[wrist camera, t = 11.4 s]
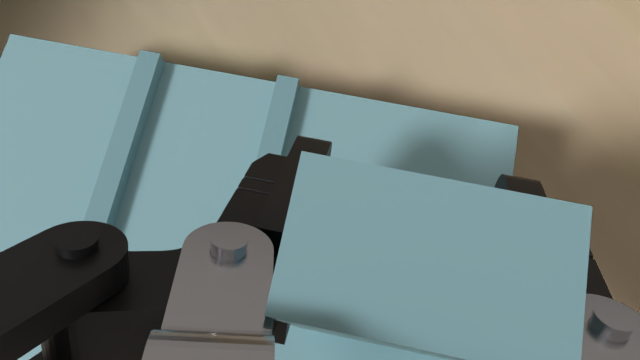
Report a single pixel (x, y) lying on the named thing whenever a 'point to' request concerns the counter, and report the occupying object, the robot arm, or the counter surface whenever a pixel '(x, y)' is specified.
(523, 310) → the lid
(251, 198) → the robot arm
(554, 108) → the counter surface
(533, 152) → the counter surface
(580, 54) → the counter surface
